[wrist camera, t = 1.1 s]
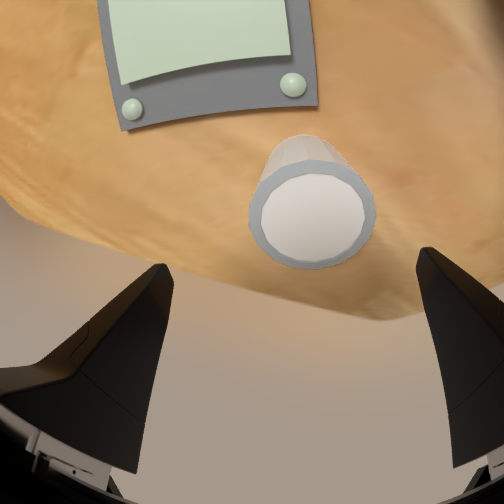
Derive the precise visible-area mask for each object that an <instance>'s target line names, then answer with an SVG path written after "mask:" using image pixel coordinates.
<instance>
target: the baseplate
mask: <svg viewBox="0 0 504 504" xmlns="http://www.w3.org/2000/svg"><path fill="white" fill-rule="evenodd" d="M97 3H98V12H99V21H100V28H101V35H102V41H103V48H104V54H105V59H106V65H107V70H108V75H109V80H110V85H111V90H112V94H113V99H114V103H115V108H116V112H117V116H118V120H119V124H120V128H121V132H122V131H125V130H129V129H133V128H137V127H142V126H146V125H150V124H155V123H160V122H165V121H170V120H175V119H180V118H186V117H192V116H198V115H205V114H212V113H219V112H227V111H236V110H245V109H256V108H270V107H288V106H318V98H317V81H316V68H315V56H314V45H313V35H312V26H311V17H310V9H309V2H308V0H97Z"/></svg>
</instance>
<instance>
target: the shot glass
mask: <svg viewBox="0 0 504 504" xmlns="http://www.w3.org/2000/svg"><path fill="white" fill-rule="evenodd" d="M375 219H376V211H375V204H374V198H373V194H372V193H371V191H370V190H369V188H368V187H367V185H366V184H365V183H364V181H363V180H362V178H361V177H360V176H359V174H358V173H357V172H356V171H355V170H354V169H353V168H352V166H351V165H350V164H349V163H348V162H347V161H346V160H345V159H344V158H343V156H342V155H341V154H340V153H339V152H338V151H337V150H336V149H335V148H334V147H333V146H332V145H331V144H330V143H329V142H327V141H325V140H323V139H321V138H320V137H318V136H313V135H304V134H300V135H296V136H293V137H289V138H286V139H285V140H283V141H282V142H281V143H280V144H278V145H277V146H276V147H275V148H274V149H273V151H272V153H271V155H270V157H269V158H268V160H267V163H266V165H265V168H264V170H263V172H262V175H261V177H260V180H259V182H258V185H257V187H256V190H255V192H254V194H253V197H252V199H251V202H250V204H249V228H250V230H251V232H252V234H253V237H254V239H255V241H256V243H257V245H258V246H259V247H260V248H261V249H262V250H263V251H264V252H265V253H266V254H267V255H269V256H270V257H271V258H272V259H273V260H275V261H277V262H280V263H282V264H285V265H287V266H290V267H292V268H299V269H312V270H317V269H321V268H326V267H330V266H334V265H338V264H340V263H341V262H343V261H345V260H346V259H348V258H350V257H352V256H353V255H355V254H356V253H357V252H358V251H359V250H360V249H361V247H362V246H363V245H364V244H365V243H366V241H367V240H368V239H369V238H370V236H371V233H372V229H373V226H374V223H375Z"/></svg>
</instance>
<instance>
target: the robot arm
mask: <svg viewBox="0 0 504 504" xmlns="http://www.w3.org/2000/svg"><path fill="white" fill-rule="evenodd" d="M416 273H417V278H418V282H419V286H420V291H421V296H422V300H423V305H424V309H425V313H426V316H427V320H428V323H429V327H430V330H431V334H432V338H433V342H434V345H435V349H436V354H437V358H438V362H439V367H440V371H441V376H442V381H443V386H444V392H445V397H446V404H447V410H448V414H449V415H448V418H449V426H450V435H451V446H452V459H453V468H456V467H459V466H462V465H464V464H467V463H469V462H471V461H474V460H476V459H478V458H480V457H483V456H485V455H487V457H488V465H485V466H483V467H481V468H479V469H478V470H477V472H476V474H475V475H474V476H473V478H472V480H471V481H470V483H469V485H468V486H467V488H466V490H465V491H464V492H463V494H461V495H459V496H457V497H454V498H452V499H449V500H446V501H444V502H441V503H438V504H504V303H503V302H502V301H501V300H499V298H498V297H496V296H495V295H494V294H493V293H492V292H490V291H489V290H488V289H487V288H486V287H484V286H483V285H482V284H481V283H479V282H478V281H477V280H476V279H474V278H473V277H472V276H471V275H469V274H468V273H467V272H465V271H464V270H463V269H462V268H460V267H459V266H458V265H456V264H455V263H454V262H452V261H451V260H449V259H448V258H447V257H445V256H444V255H443V254H441V253H440V252H438V251H437V250H436V249H434V248H433V247H423V248H421V250H420V253H419V257H418V260H417V264H416ZM173 287H174V281H173V278H172V276H171V274H170V271H169V269H168V267H167V265H166V264H164V263H161V264H154V265H153V266H152V267H151V268H149V269H148V270H147V271H146V272H144V273H143V274H142V275H141V276H140V277H138V278H137V279H136V280H135V281H134V282H133V283H131V284H130V285H129V286H128V287H127V288H125V289H124V290H123V291H122V292H121V293H119V294H118V295H117V296H116V297H115V298H114V299H113V300H111V301H110V302H109V303H108V304H107V305H106V306H105V307H103V308H102V309H101V310H100V311H99V312H98V313H96V314H95V315H94V316H93V317H92V318H91V319H90V321H87V322H86V323H85V324H84V325H83V326H82V327H81V328H80V329H79V330H77V331H76V332H75V333H74V334H73V335H72V336H71V337H69V338H68V339H67V340H65V341H64V342H63V343H62V344H61V345H59V346H58V347H57V348H56V349H54V350H53V351H52V352H51V353H49V354H48V355H47V356H46V357H44V358H43V359H42V360H40V361H39V362H37V363H35V364H33V365H29V366H20V367H9V368H0V504H138V503H135V502H132V501H129V500H127V499H124V498H123V496H122V495H121V493H120V491H119V490H118V488H117V486H116V484H115V483H114V481H113V479H112V477H111V476H110V472H111V468H112V467H115V468H118V469H121V470H124V471H127V472H130V473H133V474H136V473H137V468H138V462H139V456H140V450H141V444H142V439H143V433H144V428H145V424H144V423H145V422H146V416H147V411H148V406H149V401H150V397H151V392H152V387H153V383H154V378H155V374H156V370H157V365H158V361H159V356H160V352H161V349H162V344H163V340H164V336H165V333H166V329H167V324H168V320H169V313H170V306H171V300H172V294H173Z"/></svg>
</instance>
